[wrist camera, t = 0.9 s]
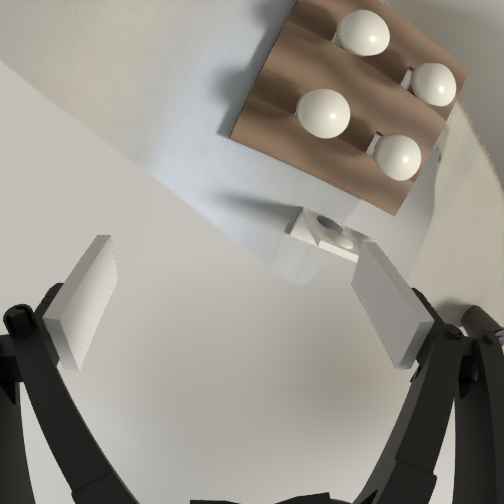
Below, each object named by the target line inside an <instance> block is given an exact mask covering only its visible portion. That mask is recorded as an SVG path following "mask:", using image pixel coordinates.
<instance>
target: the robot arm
mask: <svg viewBox="0 0 504 504" xmlns="http://www.w3.org/2000/svg"><path fill="white" fill-rule="evenodd" d="M117 281H118V278H117V273H116V266H115V260H114V254H113V248H112V240H111V235H97V237H96V238H95V239H94V241H93V242H92V244H91V245H90V246H89V248H88V249H87V250H86V252H85V253H84V255H83V256H82V257H81V259H80V260H79V262H78V263H77V265H76V266H75V268H74V269H73V271H72V272H71V273H70V275H69V277H68V278H67V279H66V281H65V282H64V283H57V284H55V285H54V286H53V287H51V288H50V289H49V291H48V292H47V293H46V295H45V297H44V298H43V299H42V301H41V303H40V304H39V306H38V307H37V309H36V310H35V312H34V313H33V310H32V308H31V307H30V306H28V305H26V304H19V305H15V306H13V307H11V308H10V309H8V310H7V311H6V312H5V314H4V316H3V322H4V324H5V326H6V328H7V330H8V332H9V334H7V335H0V504H35V499H34V495H33V491H32V486H31V481H30V476H29V470H28V465H27V459H26V452H25V445H24V438H23V429H22V418H21V405H20V385H19V382H24V384H25V387H26V390H27V393H28V396H29V399H30V401H31V404H32V407H33V409H34V412H35V414H36V417H37V419H38V422H39V424H40V427H41V429H42V431H43V434H44V436H45V438H46V440H47V443H48V445H49V447H50V449H51V451H52V453H53V455H54V457H55V459H56V461H57V463H58V465H59V467H60V469H61V471H62V473H63V475H64V477H65V479H66V481H67V482H68V484H69V486H70V488H71V490H72V493H71V495H72V498H73V500H74V502H75V504H140V503H139V502H138V501H137V500H136V498H135V497H134V496H133V495H132V493H131V492H130V490H129V489H128V488H127V486H126V485H125V484H124V482H123V481H122V480H121V478H120V477H119V475H118V474H117V473H116V471H115V470H114V468H113V467H112V465H111V464H110V463H109V461H108V459H107V458H106V456H105V455H104V453H103V452H102V450H101V448H100V447H99V445H98V444H97V442H96V440H95V439H94V437H93V435H92V434H91V432H90V430H89V429H88V427H87V425H86V423H85V422H84V420H83V418H82V416H81V414H80V413H79V411H78V409H77V407H76V405H75V403H74V402H73V400H72V398H71V396H70V394H69V392H68V390H67V388H66V386H65V384H64V382H63V379H62V377H61V375H60V374H59V371H58V369H57V367H56V366H57V364H58V362H59V359H60V361H61V363H62V366H63V368H64V369H69V370H75V371H80V369H81V366H82V364H83V361H84V359H85V356H86V353H87V351H88V348H89V345H90V343H91V341H92V339H93V336H94V334H95V331H96V329H97V326H98V324H99V322H100V319H101V317H102V315H103V312H104V310H105V308H106V305H107V303H108V301H109V299H110V297H111V294H112V292H113V290H114V287H115V286H116V283H117ZM351 285H352V287H353V288H354V290H355V292H356V294H357V296H358V298H359V299H360V301H361V303H362V305H363V306H364V309H365V311H366V312H367V314H368V316H369V318H370V320H371V322H372V324H373V326H374V327H375V329H376V331H377V333H378V335H379V337H380V339H381V341H382V343H383V345H384V347H385V349H386V351H387V353H388V355H389V357H390V359H391V361H392V363H393V365H394V367H395V369H396V371H397V370H404V369H410V368H411V367H412V365H413V363H414V361H415V359H416V360H417V362H418V363H419V366H418V368H417V370H416V372H415V373H414V375H413V377H412V378H411V380H410V382H412V383H411V386H410V389H409V392H408V394H407V397H406V399H405V402H404V404H403V407H402V409H401V412H400V414H399V416H398V419H397V421H396V424H395V426H394V428H393V430H392V433H391V435H390V437H389V439H388V441H387V444H386V446H385V448H384V450H383V452H382V454H381V456H380V458H379V460H378V462H377V464H376V466H375V468H374V470H373V472H372V474H371V476H370V477H369V479H368V481H367V483H366V485H365V487H364V488H363V490H362V491H361V493H360V494H359V496H358V497H357V498H356V499H355V501H354V502H353V503H352V504H428V503H429V501H430V498H431V496H432V493H433V490H434V488H435V484H436V480H437V476H436V475H434V474H433V471H434V468H435V465H436V462H437V459H438V456H439V453H440V449H441V446H442V442H443V439H444V436H445V432H446V428H447V425H448V421H449V417H450V413H451V409H452V404H453V400H454V402H455V433H456V436H455V438H456V439H455V475H454V490H453V501H452V504H504V354H503V350H502V347H501V343H500V340H499V338H498V337H497V336H496V335H495V333H493V332H492V331H489V330H486V329H481V330H479V331H478V333H477V334H476V336H475V338H474V337H467V336H464V335H463V333H462V331H461V330H460V329H459V328H457V327H456V326H454V325H451V324H445V323H444V322H443V321H442V319H441V318H440V316H439V315H438V314H437V312H436V311H435V310H434V308H433V307H432V306H431V304H430V303H429V302H428V300H427V299H426V298H425V296H424V295H423V294H422V293H421V292H419V291H418V290H417V289H415V288H410V286H409V285H408V284H407V283H406V281H405V280H404V279H403V277H402V276H401V275H400V273H399V272H398V271H397V270H396V268H395V267H394V266H393V265H392V263H391V262H390V261H389V259H388V258H387V257H386V256H385V254H384V253H383V252H382V251H381V250H380V248H379V247H378V246H377V245H376V243H375V242H362V245H361V249H360V253H359V257H358V261H357V265H356V270H355V273H354V277H353V281H352V284H351ZM190 504H238V503H234V502H229V501H210V500H209V501H208V500H190ZM276 504H351V503H349V502H345V501H342V500H335V499H330V495H329V492H326V493H320V494H314V495H306V496H298V497H294V498H291V499H288V500H285V501H282V502H279V503H276Z"/></svg>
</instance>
